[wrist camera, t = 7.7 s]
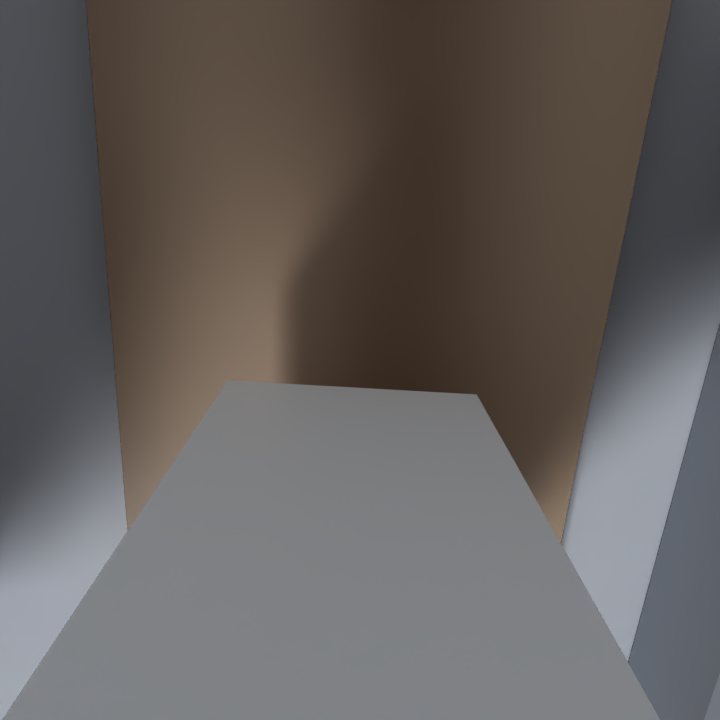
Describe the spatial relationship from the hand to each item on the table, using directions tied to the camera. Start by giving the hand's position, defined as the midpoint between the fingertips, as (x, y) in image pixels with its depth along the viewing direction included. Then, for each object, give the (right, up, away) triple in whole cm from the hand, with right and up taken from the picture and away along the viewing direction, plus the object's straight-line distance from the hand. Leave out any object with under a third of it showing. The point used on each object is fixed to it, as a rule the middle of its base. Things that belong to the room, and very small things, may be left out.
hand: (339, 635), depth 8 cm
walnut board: (0, +1, +4) cm, 4 cm away
